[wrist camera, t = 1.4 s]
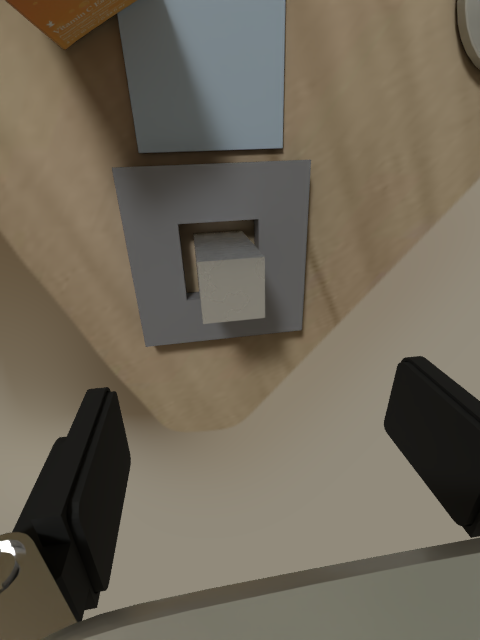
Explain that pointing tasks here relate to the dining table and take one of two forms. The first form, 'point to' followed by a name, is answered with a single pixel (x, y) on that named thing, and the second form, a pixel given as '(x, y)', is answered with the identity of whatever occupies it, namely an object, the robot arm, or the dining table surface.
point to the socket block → (213, 206)
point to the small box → (68, 16)
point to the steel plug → (229, 277)
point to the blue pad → (205, 73)
